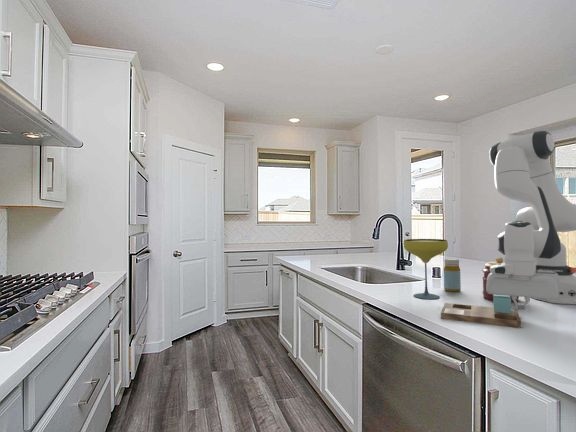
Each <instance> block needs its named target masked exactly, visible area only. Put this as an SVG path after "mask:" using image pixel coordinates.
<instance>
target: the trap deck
mask: <svg viewBox="0 0 576 432" xmlns="http://www.w3.org/2000/svg"><path fill="white" fill-rule="evenodd" d="M518 311H519V310H518V309H513V308H511V313H502V312H494V306H493V307H491V306H481V305H480V306H479V305H470V304H462V303H461V304H460V303H452V302H451V303H450V302H444V305H443V306H442V309H441V311H440V319H442V320H453V321H459V322H460V321H461V322H467V323H469V322H470V323H478V324H485V325H493V326H500V327H501V326H502V327H508V328H509V327H510V328H519V329H522V321H521V317H520V314H519V312H518Z"/></svg>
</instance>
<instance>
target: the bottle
mask: <svg viewBox="0 0 576 432" xmlns="http://www.w3.org/2000/svg"><path fill="white" fill-rule="evenodd" d="M443 286H444V287H443V288H444V290H445V292H451V293H459V292H461V288H462V287H461V268H460V259H459V258H453V257H449V258H447V257H445V258H444V267H443Z"/></svg>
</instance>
